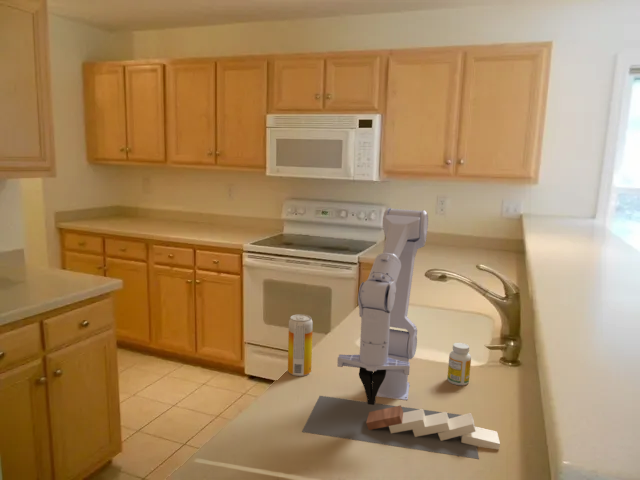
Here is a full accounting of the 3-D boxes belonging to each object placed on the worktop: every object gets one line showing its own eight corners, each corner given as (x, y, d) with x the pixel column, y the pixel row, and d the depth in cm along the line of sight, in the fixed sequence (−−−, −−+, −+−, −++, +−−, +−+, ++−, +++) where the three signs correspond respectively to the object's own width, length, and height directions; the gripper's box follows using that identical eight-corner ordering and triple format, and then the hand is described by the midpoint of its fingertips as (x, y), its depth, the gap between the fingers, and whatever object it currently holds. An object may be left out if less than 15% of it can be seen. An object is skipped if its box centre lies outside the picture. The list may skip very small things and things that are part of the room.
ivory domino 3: (437, 433, 96) (472, 424, 94) (437, 421, 100) (470, 412, 98) (440, 440, 96) (475, 431, 94) (440, 428, 100) (473, 419, 98)
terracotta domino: (366, 422, 99) (399, 415, 97) (369, 412, 103) (400, 405, 101) (368, 430, 99) (402, 423, 97) (371, 419, 103) (403, 412, 101)
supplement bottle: (451, 386, 121) (454, 349, 120) (444, 376, 126) (446, 341, 125) (472, 385, 122) (475, 349, 120) (464, 376, 127) (467, 341, 125)
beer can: (311, 368, 129) (312, 314, 127) (311, 378, 123) (313, 321, 121) (288, 368, 129) (289, 313, 127) (287, 378, 123) (288, 321, 121)
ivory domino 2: (412, 429, 97) (447, 422, 95) (413, 418, 101) (446, 411, 99) (414, 436, 97) (449, 430, 95) (415, 425, 101) (448, 418, 99)
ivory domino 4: (462, 434, 95) (500, 443, 93) (461, 423, 99) (497, 431, 98) (461, 442, 95) (498, 451, 94) (459, 430, 99) (495, 438, 98)
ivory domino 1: (388, 426, 98) (422, 419, 96) (390, 415, 102) (423, 408, 100) (390, 433, 98) (425, 427, 96) (392, 422, 102) (425, 415, 100)
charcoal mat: (319, 397, 113) (319, 395, 113) (471, 418, 106) (472, 416, 106) (301, 433, 98) (301, 431, 98) (478, 461, 90) (478, 458, 90)
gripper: (335, 342, 96) (333, 406, 98) (410, 350, 93) (406, 416, 95) (341, 330, 103) (339, 391, 105) (411, 338, 100) (407, 400, 102)
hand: (371, 402), depth 100 cm, fingers closed
